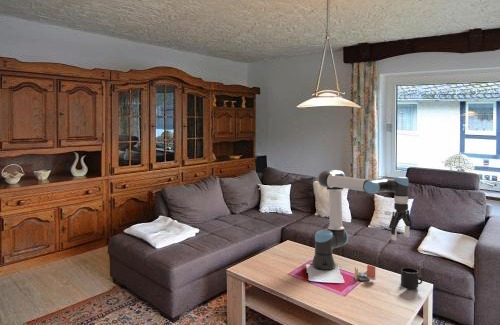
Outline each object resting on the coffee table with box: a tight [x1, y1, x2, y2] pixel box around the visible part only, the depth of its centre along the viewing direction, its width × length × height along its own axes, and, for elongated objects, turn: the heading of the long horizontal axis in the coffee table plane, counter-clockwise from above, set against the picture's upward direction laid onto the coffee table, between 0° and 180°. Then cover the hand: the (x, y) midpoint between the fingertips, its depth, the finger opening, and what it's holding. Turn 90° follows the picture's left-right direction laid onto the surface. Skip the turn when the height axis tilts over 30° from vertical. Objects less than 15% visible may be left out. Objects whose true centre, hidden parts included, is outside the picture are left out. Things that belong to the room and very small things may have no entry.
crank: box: [358, 264, 377, 281], centre depth 215 cm, size 10×4×8 cm, turn 40°
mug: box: [400, 267, 423, 289], centre depth 206 cm, size 9×12×9 cm
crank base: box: [354, 267, 371, 282], centre depth 217 cm, size 9×11×8 cm
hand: (400, 238), depth 208 cm, fingers open, 13 cm apart
